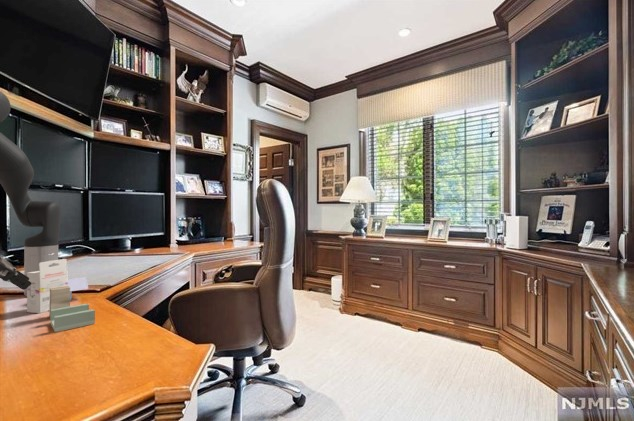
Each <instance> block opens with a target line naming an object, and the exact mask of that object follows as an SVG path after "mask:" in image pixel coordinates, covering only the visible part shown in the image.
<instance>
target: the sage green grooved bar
mask: <svg viewBox="0 0 634 421" xmlns="http://www.w3.org/2000/svg"><path fill="white" fill-rule="evenodd" d="M49 311H50V316H49V317H50V318H49V319H50V322H49V323H50V325H51V327H52V329H53V331H54V332H55V333H58V332H62V331H66V330H71V329H76V328H81V327H86V326H91V325H94V324H95V325H96V310H95V309H92V308H91V309H90V304H89V303H88V302H87V303H83V304H77V305H70V307H64V308H58V309H52V310H49Z"/></svg>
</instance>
